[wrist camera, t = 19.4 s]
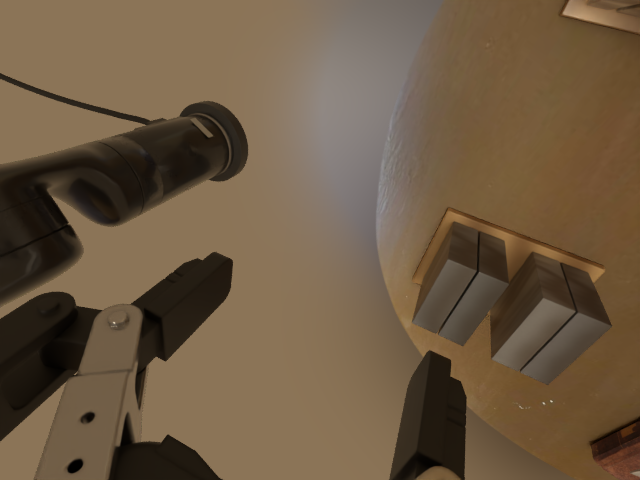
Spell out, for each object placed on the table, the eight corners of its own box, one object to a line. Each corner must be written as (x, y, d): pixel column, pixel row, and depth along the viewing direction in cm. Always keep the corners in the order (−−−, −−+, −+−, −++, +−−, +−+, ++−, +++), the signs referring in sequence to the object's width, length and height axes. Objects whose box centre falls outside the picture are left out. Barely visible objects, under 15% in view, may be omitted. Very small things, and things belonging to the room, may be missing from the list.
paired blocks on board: (412, 277, 49) (399, 324, 41) (448, 207, 42) (440, 246, 34) (541, 332, 45) (553, 395, 37) (603, 265, 38) (634, 325, 31)
